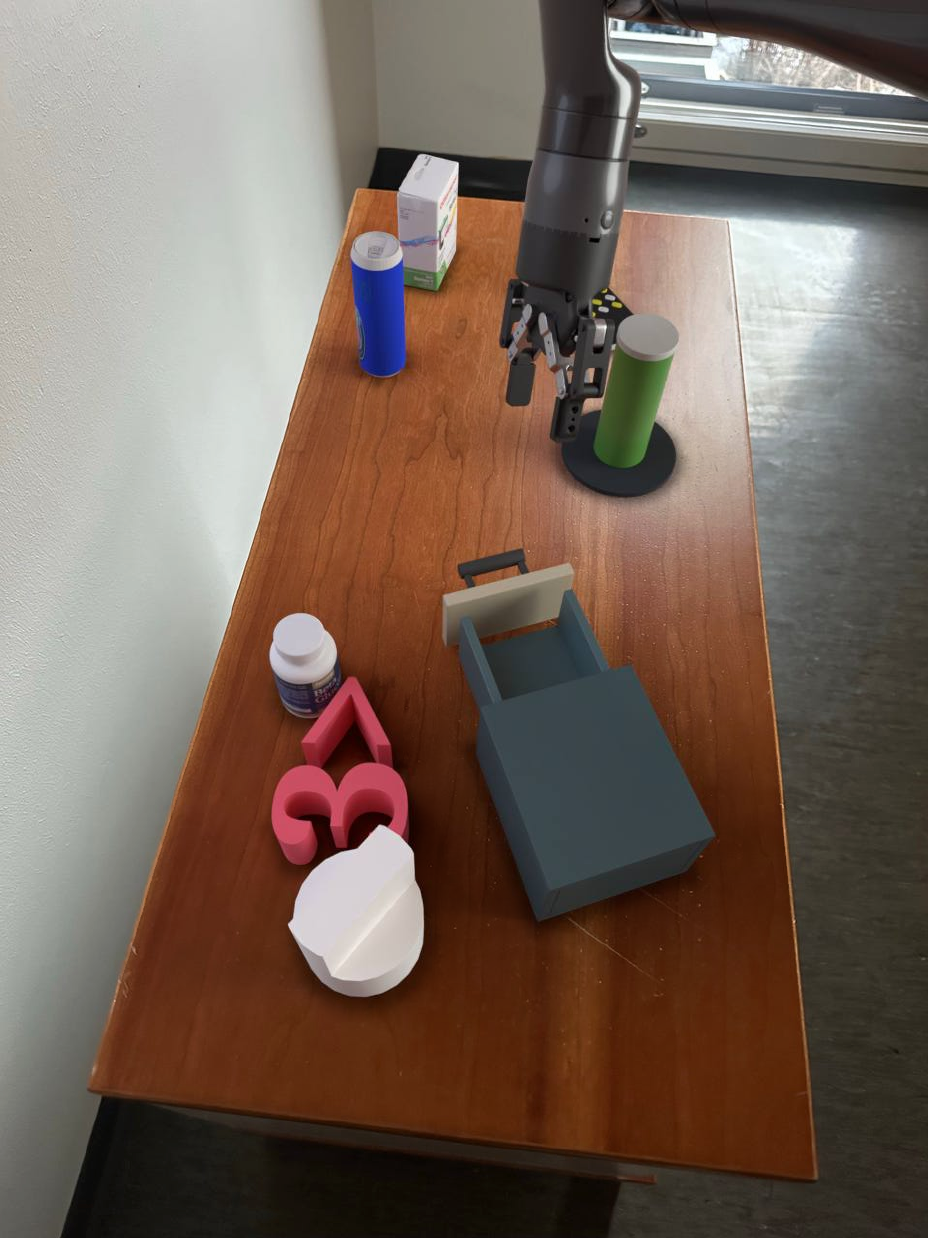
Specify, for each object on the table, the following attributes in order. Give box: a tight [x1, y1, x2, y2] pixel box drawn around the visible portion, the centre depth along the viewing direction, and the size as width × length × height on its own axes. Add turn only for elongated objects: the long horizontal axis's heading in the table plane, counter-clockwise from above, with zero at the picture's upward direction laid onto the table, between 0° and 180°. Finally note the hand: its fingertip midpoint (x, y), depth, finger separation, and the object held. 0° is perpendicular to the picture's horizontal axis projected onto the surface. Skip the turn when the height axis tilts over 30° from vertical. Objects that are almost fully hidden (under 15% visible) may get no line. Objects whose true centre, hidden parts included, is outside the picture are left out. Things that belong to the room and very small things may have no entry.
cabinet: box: [475, 663, 716, 923], centre depth 69 cm, size 15×13×9 cm
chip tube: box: [594, 313, 681, 468], centre depth 87 cm, size 6×6×15 cm
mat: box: [560, 409, 677, 498], centre depth 94 cm, size 12×12×1 cm
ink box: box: [396, 153, 460, 292], centre depth 104 cm, size 8×5×12 cm, turn 164°
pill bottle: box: [269, 612, 343, 719], centre depth 74 cm, size 5×5×10 cm
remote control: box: [592, 286, 635, 352], centre depth 105 cm, size 6×13×2 cm, turn 28°
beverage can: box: [350, 230, 407, 379], centre depth 94 cm, size 5×5×15 cm
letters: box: [271, 676, 410, 866], centre depth 71 cm, size 14×10×5 cm
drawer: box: [441, 547, 612, 713], centre depth 76 cm, size 18×11×7 cm, turn 18°
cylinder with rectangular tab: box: [287, 824, 425, 998], centre depth 62 cm, size 9×9×12 cm
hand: (538, 422), depth 77 cm, fingers open, 8 cm apart
